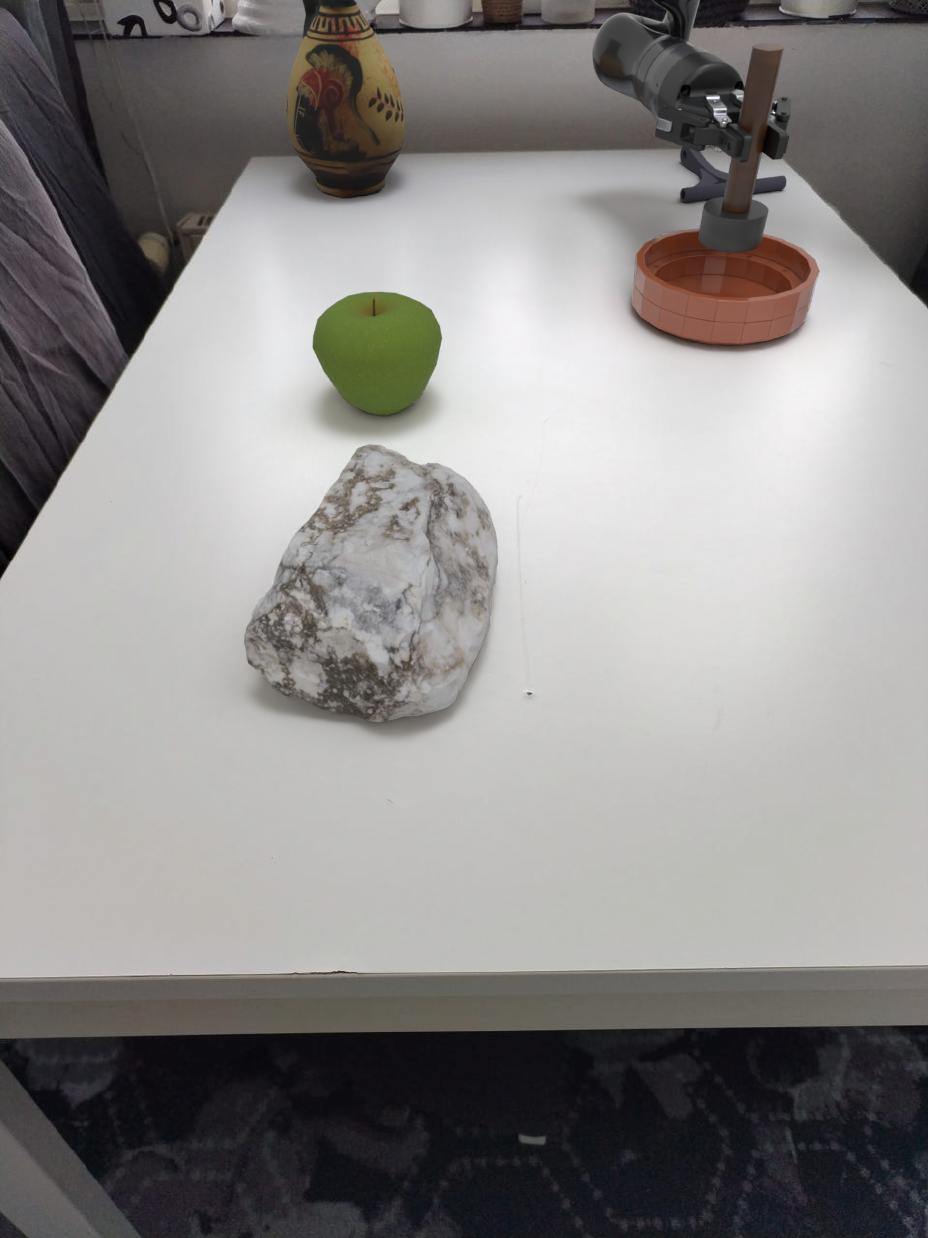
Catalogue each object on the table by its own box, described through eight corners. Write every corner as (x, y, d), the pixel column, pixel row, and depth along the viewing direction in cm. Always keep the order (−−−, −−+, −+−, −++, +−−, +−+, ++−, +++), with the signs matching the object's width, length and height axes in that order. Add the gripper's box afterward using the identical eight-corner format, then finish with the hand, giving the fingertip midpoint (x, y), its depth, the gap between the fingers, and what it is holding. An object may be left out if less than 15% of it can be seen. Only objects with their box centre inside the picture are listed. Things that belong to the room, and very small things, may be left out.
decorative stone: (353, 491, 65) (358, 391, 57) (520, 550, 65) (550, 457, 56) (236, 703, 55) (222, 618, 46) (435, 776, 54) (457, 703, 45)
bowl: (760, 267, 96) (771, 221, 93) (836, 340, 84) (852, 290, 80) (609, 282, 94) (614, 235, 91) (664, 359, 82) (672, 309, 78)
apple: (457, 382, 80) (454, 275, 73) (423, 444, 73) (416, 332, 65) (348, 368, 82) (335, 263, 75) (304, 427, 75) (285, 317, 68)
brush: (745, 225, 86) (786, 36, 75) (771, 249, 82) (818, 52, 71) (688, 230, 85) (720, 40, 74) (711, 255, 81) (749, 57, 70)
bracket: (728, 156, 123) (732, 134, 121) (784, 190, 113) (789, 167, 111) (636, 168, 120) (638, 146, 118) (684, 205, 110) (688, 181, 108)
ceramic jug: (431, 176, 119) (419, -105, 98) (364, 213, 110) (335, -89, 89) (334, 157, 126) (303, -111, 105) (264, 190, 117) (214, -96, 95)
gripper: (630, 55, 84) (696, 105, 72) (765, 46, 85) (851, 94, 73) (621, 139, 89) (681, 200, 77) (748, 130, 91) (826, 187, 79)
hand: (764, 148), depth 75 cm, fingers closed on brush, 2 cm apart
